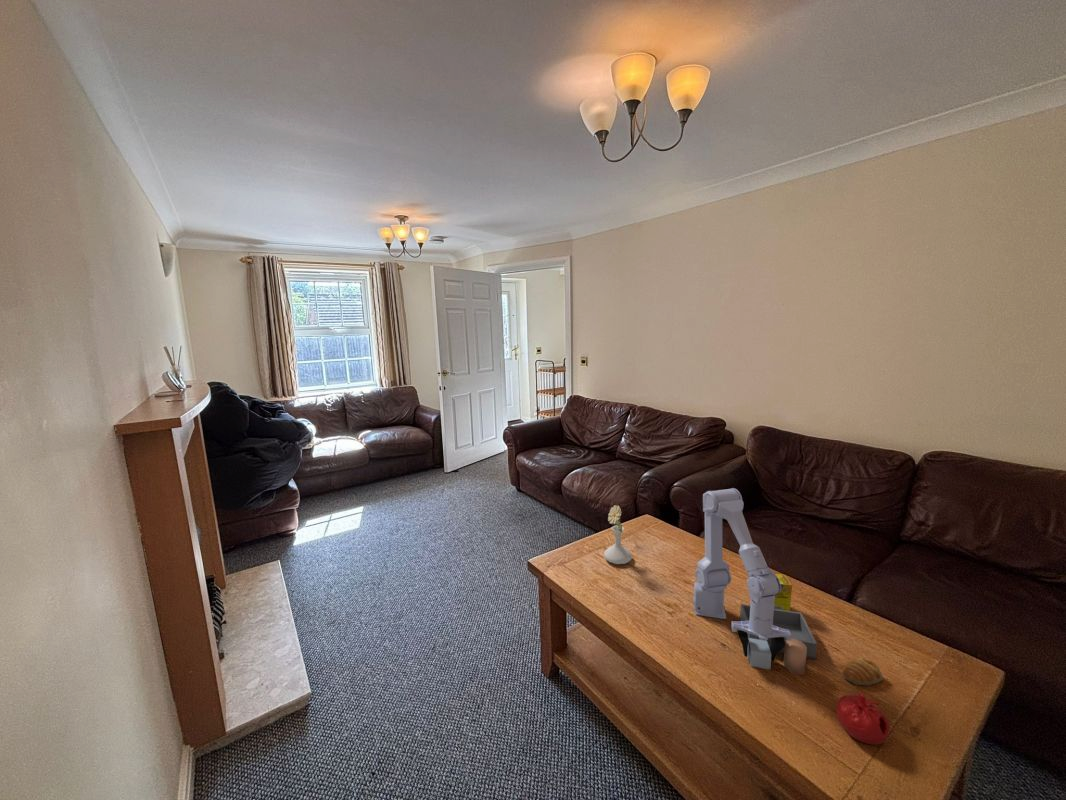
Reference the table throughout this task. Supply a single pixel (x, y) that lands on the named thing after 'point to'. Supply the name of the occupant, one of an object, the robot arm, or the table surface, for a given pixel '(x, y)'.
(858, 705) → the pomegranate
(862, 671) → the pastry
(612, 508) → the flower in vase
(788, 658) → the tan rounded cylinder
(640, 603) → the table surface
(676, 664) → the table surface
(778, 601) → the supplement box
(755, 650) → the slate-blue block
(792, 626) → the charcoal tote
